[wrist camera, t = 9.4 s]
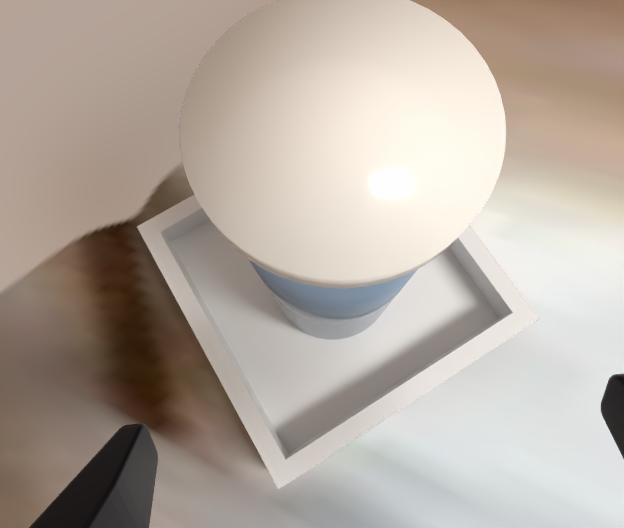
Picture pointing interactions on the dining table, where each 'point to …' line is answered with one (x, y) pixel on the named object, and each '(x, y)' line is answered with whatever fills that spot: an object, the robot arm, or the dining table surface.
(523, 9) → the dining table surface
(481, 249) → the tray
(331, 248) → the blue cylindrical canister
